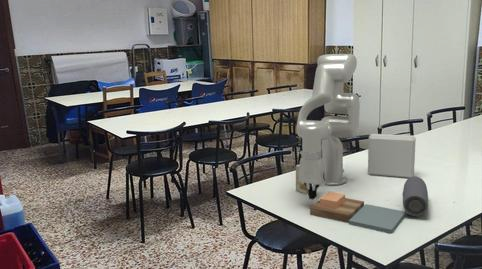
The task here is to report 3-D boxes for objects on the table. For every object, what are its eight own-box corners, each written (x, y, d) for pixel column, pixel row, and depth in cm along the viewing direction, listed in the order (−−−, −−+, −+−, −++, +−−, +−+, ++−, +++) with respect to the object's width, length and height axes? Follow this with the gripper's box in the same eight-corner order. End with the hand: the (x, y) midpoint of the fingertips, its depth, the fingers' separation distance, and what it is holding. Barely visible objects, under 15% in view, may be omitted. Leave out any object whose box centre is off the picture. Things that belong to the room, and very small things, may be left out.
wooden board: (327, 201, 181) (327, 194, 181) (363, 208, 172) (364, 201, 171) (310, 214, 169) (309, 207, 168) (348, 223, 160) (348, 215, 159)
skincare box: (295, 191, 195) (294, 165, 192) (301, 188, 198) (300, 163, 195) (306, 194, 190) (306, 167, 188) (312, 191, 193) (312, 165, 191)
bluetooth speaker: (402, 196, 182) (403, 174, 180) (426, 198, 179) (427, 175, 177) (401, 218, 162) (402, 193, 160) (428, 220, 158) (429, 195, 156)
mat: (365, 207, 173) (365, 204, 172) (405, 215, 164) (405, 211, 163) (348, 224, 159) (348, 220, 158) (391, 233, 150) (391, 229, 149)
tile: (329, 198, 176) (329, 191, 176) (345, 201, 172) (345, 194, 172) (319, 205, 169) (319, 198, 169) (336, 209, 165) (336, 201, 165)
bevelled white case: (414, 174, 209) (416, 134, 205) (413, 179, 202) (415, 138, 198) (369, 170, 218) (370, 132, 214) (367, 175, 211) (368, 136, 207)
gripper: (291, 155, 173) (292, 198, 177) (325, 160, 164) (325, 204, 169) (299, 150, 179) (300, 192, 183) (333, 155, 170) (333, 198, 174)
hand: (312, 198), depth 176 cm, fingers closed
